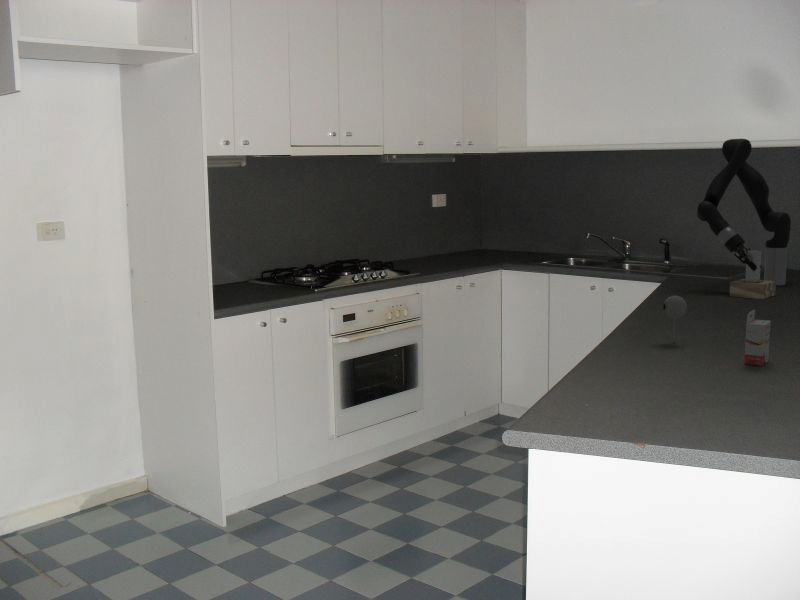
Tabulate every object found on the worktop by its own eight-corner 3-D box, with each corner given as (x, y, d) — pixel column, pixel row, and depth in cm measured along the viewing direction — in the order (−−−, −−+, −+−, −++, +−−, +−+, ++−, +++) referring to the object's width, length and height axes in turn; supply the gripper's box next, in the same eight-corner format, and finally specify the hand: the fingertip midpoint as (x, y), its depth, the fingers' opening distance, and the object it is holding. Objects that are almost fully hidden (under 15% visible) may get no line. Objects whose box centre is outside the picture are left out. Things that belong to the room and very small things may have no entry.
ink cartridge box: (762, 366, 247) (764, 314, 244) (743, 364, 249) (746, 313, 247) (769, 360, 254) (771, 310, 251) (751, 358, 256) (753, 308, 254)
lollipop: (658, 340, 285) (660, 294, 283) (680, 339, 285) (681, 293, 283) (667, 344, 278) (668, 297, 276) (689, 344, 278) (690, 296, 276)
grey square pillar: (749, 282, 378) (750, 250, 376) (759, 283, 376) (761, 250, 373) (745, 283, 375) (746, 251, 373) (755, 284, 372) (757, 251, 370)
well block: (742, 292, 386) (742, 278, 385) (775, 295, 377) (775, 281, 376) (729, 296, 376) (730, 282, 375) (762, 299, 366) (763, 284, 366)
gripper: (730, 234, 372) (758, 264, 366) (743, 232, 382) (770, 261, 376) (717, 246, 376) (744, 276, 370) (731, 243, 387) (757, 273, 381)
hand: (757, 268), depth 373 cm, fingers closed on grey square pillar, 4 cm apart
